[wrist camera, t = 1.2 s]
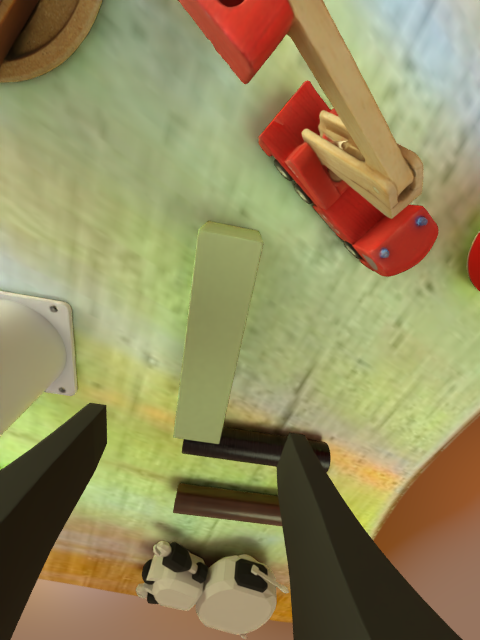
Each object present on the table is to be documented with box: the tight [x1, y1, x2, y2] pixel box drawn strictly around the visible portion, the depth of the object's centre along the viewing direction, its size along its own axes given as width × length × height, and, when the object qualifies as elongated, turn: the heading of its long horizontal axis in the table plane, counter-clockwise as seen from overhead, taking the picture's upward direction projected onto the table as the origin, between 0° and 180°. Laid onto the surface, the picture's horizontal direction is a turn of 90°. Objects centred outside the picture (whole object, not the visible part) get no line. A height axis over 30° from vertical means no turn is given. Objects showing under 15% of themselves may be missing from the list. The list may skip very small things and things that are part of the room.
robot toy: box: [136, 541, 289, 639], centre depth 32 cm, size 12×4×15 cm
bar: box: [173, 221, 263, 444], centre depth 18 cm, size 14×3×4 cm, turn 169°
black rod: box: [182, 427, 330, 472], centre depth 24 cm, size 12×2×2 cm, turn 79°
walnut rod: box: [173, 483, 282, 526], centre depth 27 cm, size 12×2×2 cm, turn 79°
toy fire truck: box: [178, 0, 438, 277], centre depth 11 cm, size 3×14×10 cm, turn 46°
